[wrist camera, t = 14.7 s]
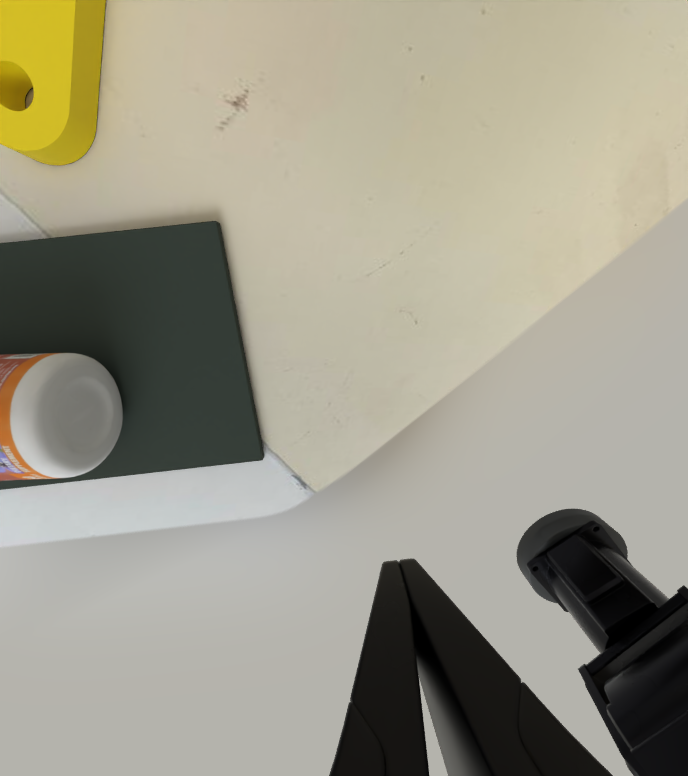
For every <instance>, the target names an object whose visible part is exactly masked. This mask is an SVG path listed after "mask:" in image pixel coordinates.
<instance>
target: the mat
mask: <svg viewBox="0 0 688 776" xmlns="http://www.w3.org/2000/svg"><path fill="white" fill-rule="evenodd" d="M44 353H76V354H81V355H85V356H88V357H90V358H93V359H94V360H96V361H98V362H99V363H100V364H101V365H103V366H104V367H105V368H106V369H107V370H108V372H109V373H110V374H111V376H112V377H113V379H114V381H115V383H116V385H117V387H118V390H119V393H120V397H121V402H122V410H123V421H122V427H121V431H120V434H119V437H118V440H117V442H116V444H115V446H114V448H113V449H112V451H111V452H110V454H109V455H108V456H107V457H106V458H105V460H103V461H102V462H101V463H100V464H99V465H98V466H97V467H95V468H94V469H92V470H91V471H89V472H86V473H84V474H82V475H78V476H74V477H68V478H56V479H29V480H3V481H0V490H2V489H11V488H20V487H29V486H38V485H46V484H55V483H64V482H73V481H82V480H91V479H100V478H109V477H118V476H126V475H135V474H144V473H153V472H162V471H171V470H180V469H189V468H197V467H206V466H215V465H224V464H233V463H242V462H251V461H260V460H263V458H264V452H263V447H262V442H261V436H260V431H259V426H258V421H257V416H256V410H255V405H254V400H253V395H252V390H251V384H250V379H249V374H248V369H247V363H246V358H245V353H244V348H243V343H242V337H241V332H240V327H239V322H238V317H237V311H236V306H235V301H234V296H233V290H232V285H231V280H230V275H229V270H228V264H227V259H226V254H225V249H224V244H223V238H222V233H221V228H220V224H219V223H218V222H217V221H210V222H201V223H191V224H181V225H172V226H162V227H153V228H143V229H134V230H124V231H115V232H105V233H95V234H86V235H76V236H67V237H57V238H48V239H38V240H29V241H19V242H10V243H0V355H5V354H44Z"/></svg>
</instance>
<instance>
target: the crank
mask: <svg viewBox="0 0 688 776" xmlns="http://www.w3.org/2000/svg"><path fill="white" fill-rule="evenodd" d="M105 3H106V0H0V144H2V145H4V146H6V147H8V148H10V149H13V150H15V151H17V152H19V153H21V154H23V155H26V156H28V157H30V158H32V159H34V160H36V161H39V162H41V163H45V164H49V165H66V164H70V163H73V162H75V161H77V160H78V159H80V158H81V157H82V156H83V155H84V154H85V153H86V152H87V151H88V150H89V148H90V147H91V145H92V142H93V140H94V137H95V133H96V123H97V110H98V96H99V83H100V70H101V56H102V43H103V29H104V16H105ZM32 87H33V90H34V97H33V101H32V103H31V105H30V106H29V107H28V108H27V109H26V108H25V97H26V94H27V92H28V91H29V90H30V89H31V88H32Z"/></svg>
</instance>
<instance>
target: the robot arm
mask: <svg viewBox="0 0 688 776" xmlns="http://www.w3.org/2000/svg"><path fill="white" fill-rule="evenodd" d="M526 567H527V568H528V570H529V571H530V572H531V574H532V575H533V576H534V577H535V578H536V579H537V580H538V582H539V583H540V584H541V585H542V586H543V587H544V588H545V589H546V591H547V592H548V593H549V594H550V595H551V596H552V597H553V598H554V600H555V601H556V602H557V603H558V604H559V605H560V606H561V607H562V609H563V610H564V611H566V612H569V613H570V614H571V615H572V616H573V618H574V619H575V620H576V622H577V623H578V624H579V626H580V627H581V628H582V630H583V631H584V632H585V634H586V635H587V636H588V638H589V639H590V640H591V642H592V643H593V644H594V646H595V647H596V648H597V650H598V651H599V652H600V653H601V654H599V655H598V656H597V657H596V658H594V659H593V660H592V661H591V662H589V663H588V664H587V665H585V664H583V665H582V666H581V667H580V668H579V669H578V670H579V672H580V674H581V676H582V677H583V680H584V681H585V685H586V688H587V690H588V692H589V693H590V695H591V697H592V699H593V701H594V703H595V705H596V706H597V709H598V711H599V713H600V714H601V716H602V718H603V720H604V722H605V724H606V726H607V728H608V730H609V732H610V734H611V736H612V738H613V739H614V741H615V743H616V745H617V747H618V748H619V751H620V753H621V755H622V756H623V758H624V759H625V762H626V765H627V767H628V768H629V770H630V771H631V773H632V774H633V775H634V776H688V589H687V588H686V587H685V586H682V587H681V588H679V589H678V590H677V591H678V593H677V594H675V595H674V596H673V597H672V598H670V599H669V598H667V597H666V596H665V595H664V594H663V593H662V592H661V591H659V590H658V589H657V588H656V587H655V586H654V585H653V584H652V583H650V581H648V580H647V579H646V578H645V577H644V576H643V575H642V574H641V573H639V572H638V571H637V570H636V569H635V568H634V567H633V566H632V565H631V564H630V562H629V561H628V560H627V558H626V557H625V556H624V554H623V553H622V552H621V550H620V549H619V548H618V546H617V545H616V544H615V542H614V541H613V540H612V538H611V537H610V536H609V534H608V533H607V532H606V530H605V529H604V528H603V526H602V525H601V524H600V523H598V522H597V521H596V520H591V521H589V522H588V523H586V524H584V525H583V526H581V527H580V528H578V529H577V530H575V531H574V532H572V533H571V534H569V535H568V536H566V537H565V538H563V539H562V540H560V541H559V542H557V543H556V544H554V545H553V546H551V547H550V548H548V549H547V550H545V551H544V552H542V553H541V554H539V555H538V556H536V557H535V558H533V559H531V560H530V561H529V562H528V563H527V565H526ZM418 675H419V676H418ZM419 678H420V681H421V685H422V688H423V692H424V695H425V699H426V702H427V705H428V709H429V712H430V715H431V719H432V722H433V726H434V729H435V732H436V736H437V739H438V742H439V746H440V749H441V753H442V755H443V759H444V763H445V766H446V769H447V773H448V776H613V775H612V774H611V773H610V772H609V771H608V770H606V768H604V766H602V765H601V764H600V763H599V762H598V761H597V760H596V759H595V758H594V757H593V756H592V755H591V753H589V752H588V750H587V749H586V748H585V747H584V746H582V744H580V742H578V741H577V739H575V738H574V737H573V736H572V735H571V733H570V732H569V731H568V730H567V729H566V728H565V727H564V726H563V725H562V724H561V723H560V722H559V721H558V720H557V719H556V717H555V716H554V715H553V714H552V713H551V712H550V711H549V710H548V709H547V708H546V707H545V705H544V704H543V703H542V702H541V701H540V700H539V699H538V698H537V697H536V695H535V694H534V693H533V692H532V691H531V690H530V689H529V687H528V686H527V685H526V684H525V683H523V682H522V683H521V679H520V677H519V676H518V675H517V674H516V673H515V672H514V671H513V670H512V668H510V666H509V665H508V664H507V663H506V662H505V660H504V659H503V658H502V657H501V656H500V655H499V654H498V653H497V652H496V650H495V649H494V648H493V647H492V646H491V645H490V643H489V642H488V641H487V640H486V639H485V638H484V637H483V636H482V634H481V633H480V632H479V631H478V630H477V629H476V628H475V627H474V625H473V624H472V623H471V622H470V621H469V620H468V619H467V617H466V616H465V615H464V614H463V613H462V612H461V611H460V610H459V609H458V607H457V606H456V605H455V604H454V603H453V602H452V601H451V599H450V598H449V597H448V596H447V595H446V594H445V593H444V592H443V590H442V589H441V588H440V587H439V586H438V585H437V584H436V582H435V581H434V580H433V579H432V578H431V577H430V576H429V575H428V574H427V572H426V571H425V570H424V569H423V568H422V567H421V565H420V564H419V563H418V562H417V561H416V560H415V559H404V560H400V561H399V562H398V561H397V560H395V561H386V562H383V564H382V567H381V571H380V576H379V580H378V584H377V588H376V592H375V597H374V601H373V605H372V609H371V613H370V618H369V622H368V626H367V630H366V634H365V639H364V643H363V647H362V651H361V655H360V660H359V664H358V668H357V672H356V676H355V681H354V685H353V689H352V693H351V698H350V701H351V702H350V703H349V705H348V709H347V713H346V717H345V721H344V726H343V729H342V733H341V737H340V740H339V744H338V748H337V752H336V755H335V759H334V762H333V765H332V768H331V772H330V775H329V776H429V769H428V759H427V750H426V741H425V731H424V722H423V713H422V704H421V694H420V686H419Z"/></svg>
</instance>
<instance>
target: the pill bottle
mask: <svg viewBox="0 0 688 776" xmlns="http://www.w3.org/2000/svg"><path fill="white" fill-rule="evenodd" d="M122 421H123V410H122V402H121V397H120V393H119V390H118V387H117V385H116V383H115V381H114V379H113V377H112V376H111V374H110V373H109V372H108V370H107V369H106V368H105V367H104V366H103V365H101V364H100V363H99V362H98V361H96V360H94V359H93V358H90V357H88V356H85V355H81V354H76V353H44V354H5V355H0V481H3V480H29V479H56V478H68V477H74V476H78V475H82V474H84V473H86V472H89V471H91V470H92V469H94V468H95V467H97V466H98V465H99V464H100V463H101V462H102V461H103V460H105V458H106V457H107V456H108V455H109V454H110V452H111V451H112V449H113V448H114V446H115V444H116V442H117V440H118V437H119V434H120V431H121V427H122Z"/></svg>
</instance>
